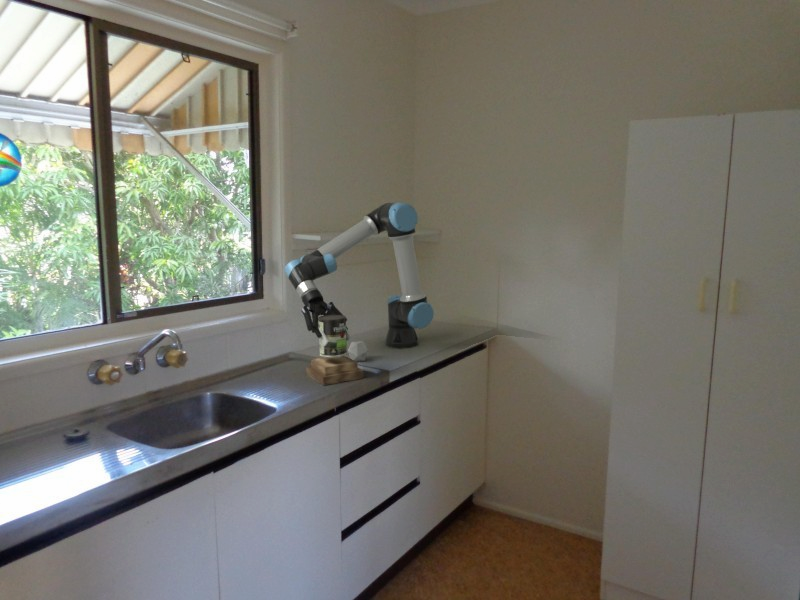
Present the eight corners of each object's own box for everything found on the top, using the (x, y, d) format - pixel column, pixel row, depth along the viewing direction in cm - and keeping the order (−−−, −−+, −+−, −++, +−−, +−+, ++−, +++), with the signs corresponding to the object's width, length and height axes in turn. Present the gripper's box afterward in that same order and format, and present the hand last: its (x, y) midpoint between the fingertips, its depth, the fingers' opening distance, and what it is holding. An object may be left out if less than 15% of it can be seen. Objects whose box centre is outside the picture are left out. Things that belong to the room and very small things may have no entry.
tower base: (344, 368, 230) (344, 353, 229) (363, 378, 216) (363, 362, 215) (306, 375, 222) (305, 359, 221) (323, 385, 208) (322, 369, 207)
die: (360, 365, 236) (372, 345, 237) (341, 354, 237) (354, 334, 238) (361, 367, 244) (373, 347, 245) (343, 357, 245) (355, 337, 246)
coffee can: (352, 353, 218) (351, 316, 216) (333, 359, 210) (332, 320, 208) (332, 349, 225) (331, 313, 222) (313, 355, 217) (312, 317, 214)
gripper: (329, 297, 233) (356, 341, 225) (281, 304, 217) (309, 352, 209) (337, 285, 229) (365, 330, 220) (289, 292, 213) (317, 340, 204)
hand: (338, 341), depth 215 cm, fingers closed on coffee can, 10 cm apart
